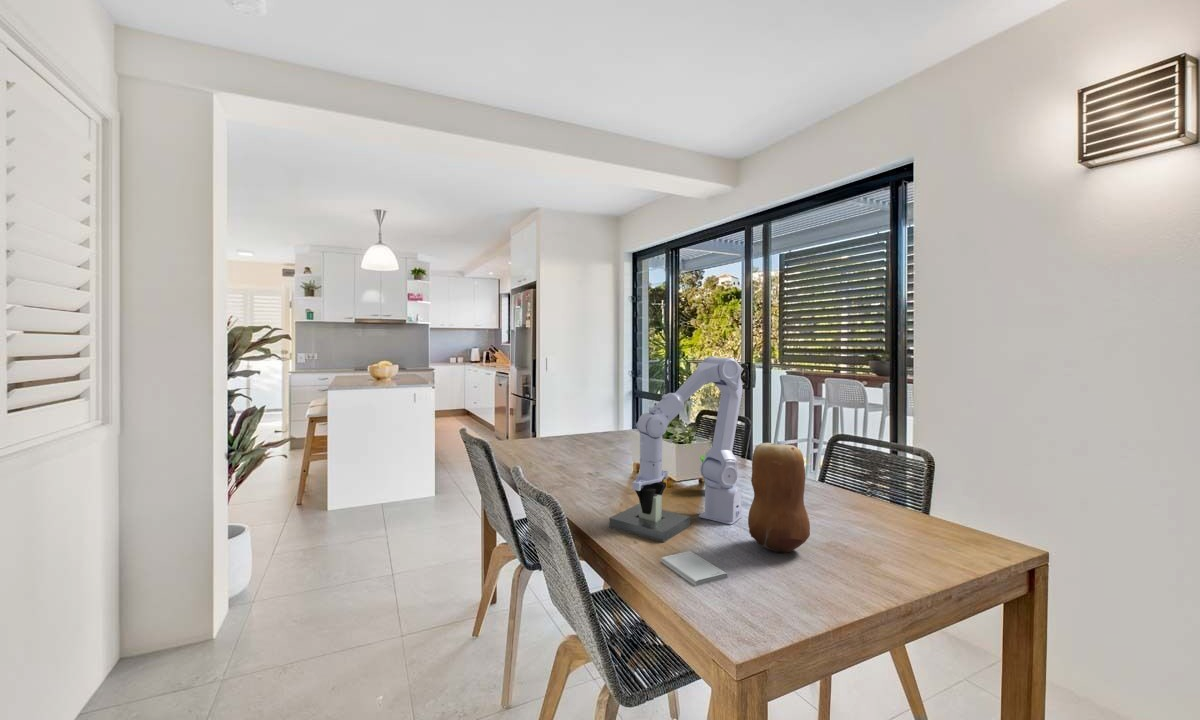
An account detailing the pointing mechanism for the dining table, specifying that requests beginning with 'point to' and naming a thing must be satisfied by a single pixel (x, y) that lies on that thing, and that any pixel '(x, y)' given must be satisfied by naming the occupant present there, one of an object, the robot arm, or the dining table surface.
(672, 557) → the hard drive
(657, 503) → the keyed block
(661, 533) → the key plate
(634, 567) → the dining table surface
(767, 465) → the butternut squash
